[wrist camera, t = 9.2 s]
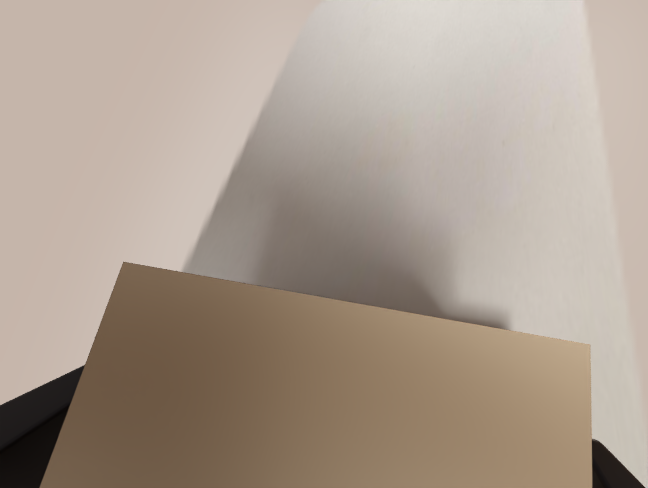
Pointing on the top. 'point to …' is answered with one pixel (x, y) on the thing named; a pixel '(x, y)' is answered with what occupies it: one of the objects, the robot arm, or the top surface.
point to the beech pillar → (315, 395)
